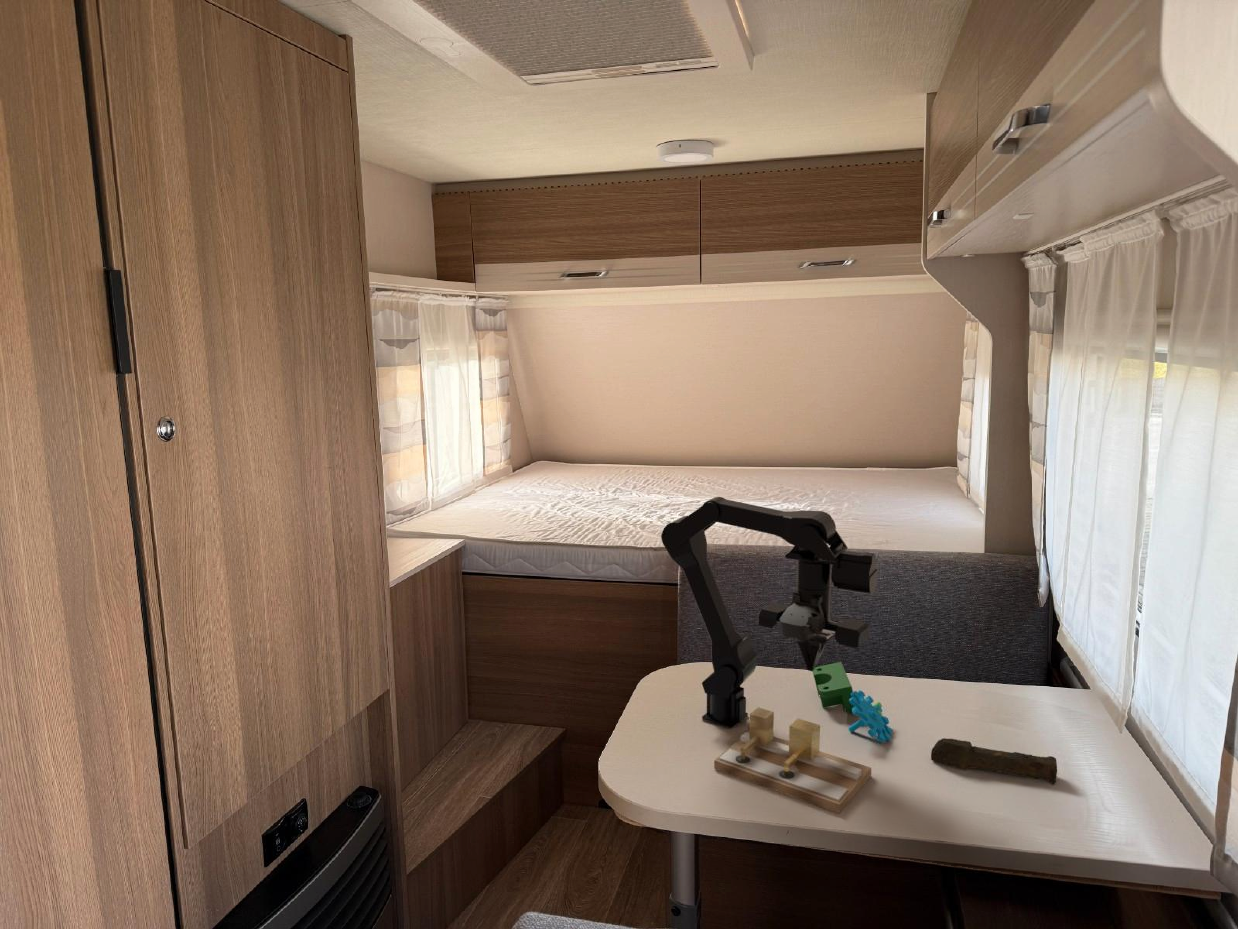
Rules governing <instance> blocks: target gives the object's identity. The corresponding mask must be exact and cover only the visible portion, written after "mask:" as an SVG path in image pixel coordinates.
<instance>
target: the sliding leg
mask: <svg viewBox="0 0 1238 929" xmlns="http://www.w3.org/2000/svg"><path fill="white" fill-rule="evenodd" d="M788 732H789V734H788V741H789V754H791V755H792V756H791V757H790V758H789V759H788V760H787V761H786V762H785V763H784V774H785V775H789V768H790V767H791V766H792V765H793V764H794V763H795V762H796V761H797V760H798V759H799V758H800V757H801V758H804V759H807V760H810V761H812V760H813V759H814V758H815V757H816V756H817V755H818V754H819V751H820V747H821V745H820V744H821V743H820V742H821V738H820V737H821V724H819V723H814V722H811V721H808V720H805V719H802V718H797V719H795V720H794V721H793V722H792V723H791V724H790V725H789V730H788Z"/></svg>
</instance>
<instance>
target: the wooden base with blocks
mask: <svg viewBox="0 0 1238 929" xmlns="http://www.w3.org/2000/svg"><path fill="white" fill-rule="evenodd" d="M774 715H775V711H772V710H769V709H765V708H762V707H756V708H755V709H754V710H753V711H751V712H750V713H749V731H748V732H747V731H745V732H744V733H742V735H740V739H738V740H737V741H736V742H735V743H733V744H732V745H731V746H730V747H729V748H727V749H726V750H725V751H724V752H722V753H721V754H720V755H718V757H716V758H715V759H714V762H713V763H714V765H713V767H714V770H717V771H721V772H723V773H726V774H729V775H731V774H732V775H731V776H733V777H737V778H739V777H740V778H739V779H743V780H745V781H748V782H750V781H751V783H753V782H754V784H756V785H759V786H762V787H764V788H767V787H768V788H767V789H770V788H771V789H770V790H772V789H773V790H772V791H775V790H777V791H776V792H778V791H779V792H778V793H781V792H782V793H781V794H785V795H786V794H788V795H787V796H789V795H790V797H792V798H795V797H796V798H795V799H797V798H798V800H800V799H801V800H800V801H803V802H806V803H809V804H811V803H812V804H811V805H814V804H815V806H816V807H817V806H818V807H821V808H823V809H826V810H828V811H831V812H834V813H837V814H840V813H841V812H842V811H843V810H844V809H845V808H846V806H847V805H848V804H849V803H850V802H851V801H852V799H853V798H854V797H855V796H856V795H857V793H858V792H859V791H860V790H861V789H862V787H863V786H864V785H865V784H866V783H867V782H868V781H869V779H870V778H871V777H872V767H870V766H868V765H865V764H860V763H858V762H854V761H851V760H849V759H845V758H842V757H839V756H836V755H832V754H830V753H827V752H823V751H820V750H819V754H818V755H817V756H816V757H815V758H814V759H813V760H812V761H810V760H807V759H804V758H801V757H800V758H799V759H798V760H797V761H796V762H795V763H794V764H793V765H792V766H791V767H790V768H789V775H785V774H784V763H785V762H786V761H787V760H788V759H789V758H790V757H791V756H792V755H791V754H789V740H786V739H783V738H780V737H776V736H774V727H775V726H774V724H775V723H774V719H775V716H774Z"/></svg>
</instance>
